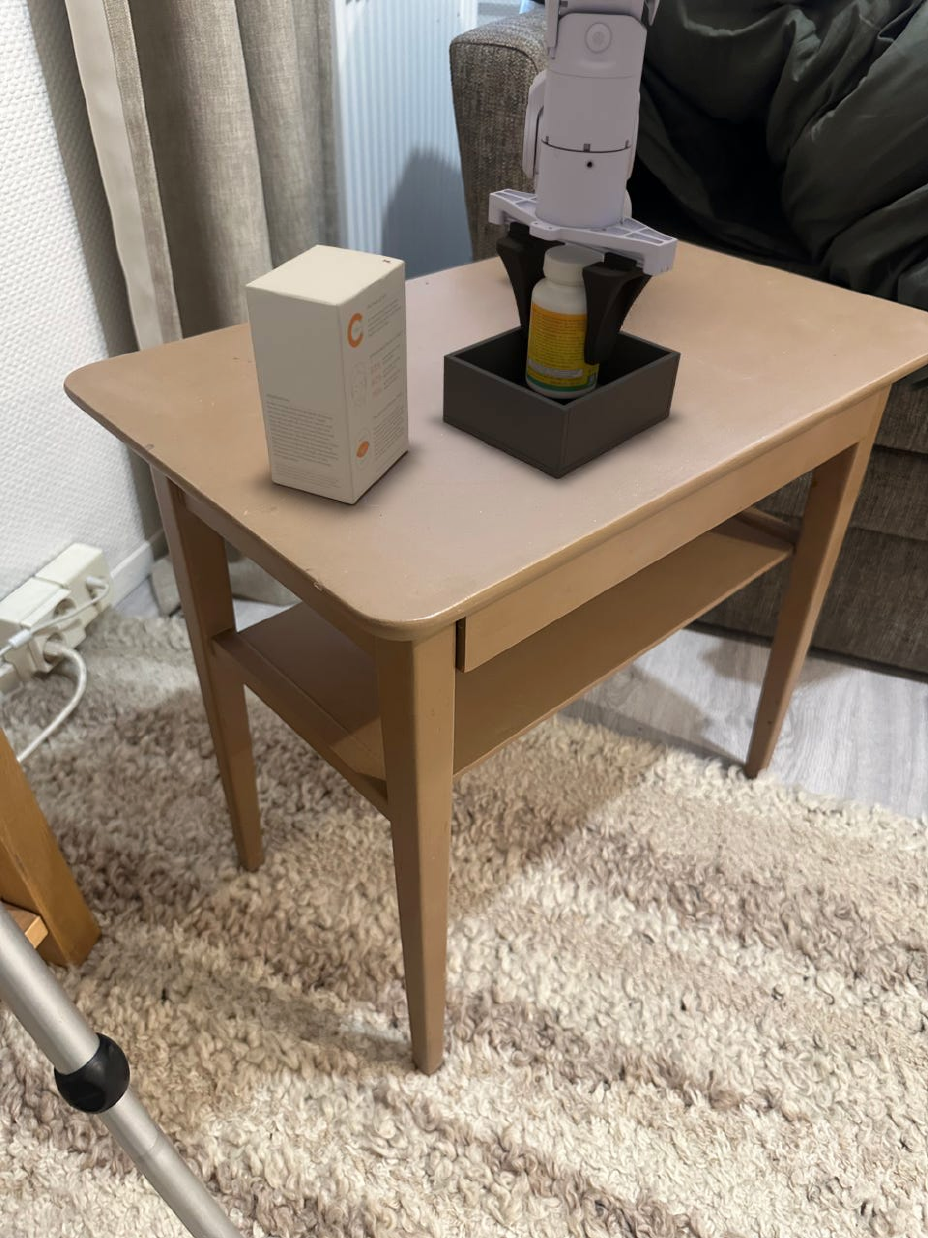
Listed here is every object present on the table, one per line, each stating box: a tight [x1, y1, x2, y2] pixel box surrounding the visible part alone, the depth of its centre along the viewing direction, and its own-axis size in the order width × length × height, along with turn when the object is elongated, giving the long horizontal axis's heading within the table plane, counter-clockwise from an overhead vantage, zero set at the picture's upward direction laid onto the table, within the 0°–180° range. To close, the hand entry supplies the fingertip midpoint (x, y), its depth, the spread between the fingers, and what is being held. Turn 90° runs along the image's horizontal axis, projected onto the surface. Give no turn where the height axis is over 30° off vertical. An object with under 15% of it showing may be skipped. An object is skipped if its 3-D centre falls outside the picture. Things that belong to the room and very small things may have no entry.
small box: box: [244, 244, 410, 505], centre depth 56 cm, size 8×6×13 cm
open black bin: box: [442, 324, 682, 479], centre depth 65 cm, size 13×11×5 cm
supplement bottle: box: [526, 245, 604, 399], centre depth 64 cm, size 5×5×10 cm
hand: (564, 347), depth 66 cm, fingers closed on supplement bottle, 5 cm apart
